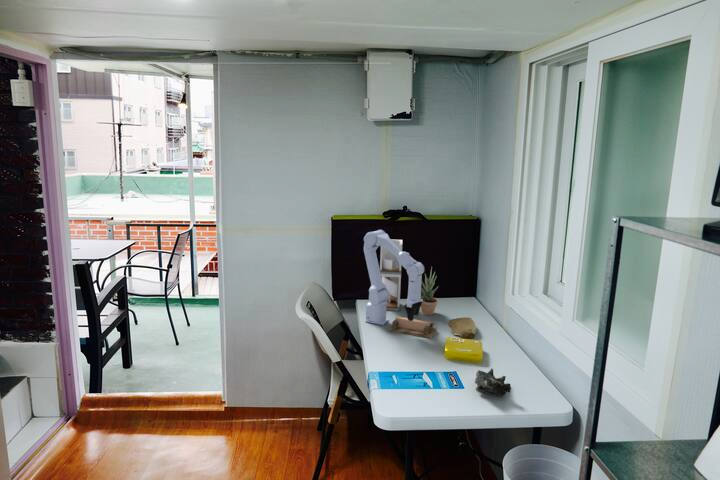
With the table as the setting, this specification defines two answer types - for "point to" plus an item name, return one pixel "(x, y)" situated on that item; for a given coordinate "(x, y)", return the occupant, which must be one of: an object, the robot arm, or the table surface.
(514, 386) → the table surface
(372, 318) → the robot arm
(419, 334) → the strip rack
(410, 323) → the clay strip
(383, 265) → the display case
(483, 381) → the mineral specimen
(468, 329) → the stone tool
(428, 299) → the potted plant
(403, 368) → the table surface
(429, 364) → the table surface
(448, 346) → the element tile
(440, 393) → the table surface
